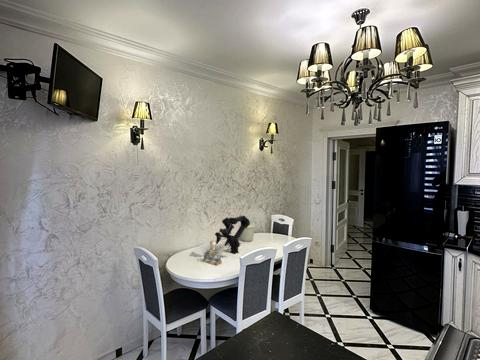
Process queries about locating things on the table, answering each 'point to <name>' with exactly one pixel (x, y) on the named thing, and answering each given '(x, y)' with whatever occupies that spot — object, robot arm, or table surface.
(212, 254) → the maple post
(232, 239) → the robot arm
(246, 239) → the canister
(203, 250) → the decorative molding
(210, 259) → the ridge rail
